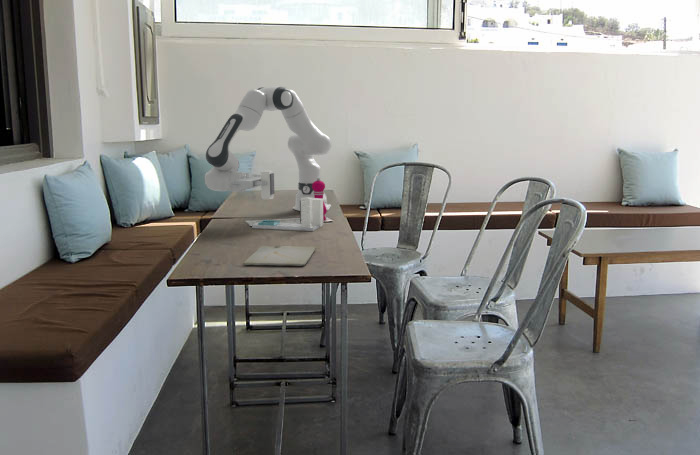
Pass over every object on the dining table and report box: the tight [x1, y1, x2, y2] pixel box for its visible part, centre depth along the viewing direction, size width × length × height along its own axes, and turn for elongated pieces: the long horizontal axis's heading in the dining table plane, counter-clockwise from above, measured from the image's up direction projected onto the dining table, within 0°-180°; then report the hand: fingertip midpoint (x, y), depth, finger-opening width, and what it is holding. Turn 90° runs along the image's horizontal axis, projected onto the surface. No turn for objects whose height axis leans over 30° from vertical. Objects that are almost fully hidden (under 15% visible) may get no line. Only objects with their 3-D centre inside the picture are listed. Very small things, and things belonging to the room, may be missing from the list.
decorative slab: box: [243, 245, 317, 267], centre depth 217 cm, size 27×21×2 cm
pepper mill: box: [312, 177, 328, 222], centre depth 288 cm, size 7×7×20 cm
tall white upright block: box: [260, 170, 275, 200], centre depth 270 cm, size 4×5×12 cm
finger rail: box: [251, 197, 320, 232], centre depth 270 cm, size 8×28×14 cm, turn 74°
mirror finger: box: [313, 198, 324, 228], centre depth 274 cm, size 4×5×12 cm
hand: (269, 182), depth 269 cm, fingers closed on tall white upright block, 4 cm apart
